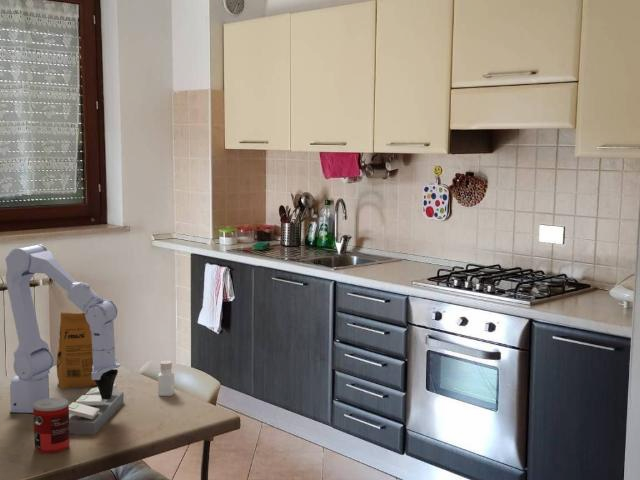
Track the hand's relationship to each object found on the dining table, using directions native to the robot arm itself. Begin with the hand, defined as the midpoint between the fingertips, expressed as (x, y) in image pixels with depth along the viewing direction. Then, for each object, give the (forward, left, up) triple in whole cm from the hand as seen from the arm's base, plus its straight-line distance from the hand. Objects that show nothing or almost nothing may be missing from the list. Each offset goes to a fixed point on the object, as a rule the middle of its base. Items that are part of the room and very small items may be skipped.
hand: (106, 398), depth 207 cm
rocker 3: (-4, -8, -2) cm, 9 cm away
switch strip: (-4, +2, -5) cm, 7 cm away
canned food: (-6, -21, -5) cm, 22 cm away
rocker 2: (-4, 0, -2) cm, 4 cm away
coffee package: (-17, +27, -5) cm, 33 cm away
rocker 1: (-4, +8, -2) cm, 9 cm away
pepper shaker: (+11, +20, -5) cm, 23 cm away
